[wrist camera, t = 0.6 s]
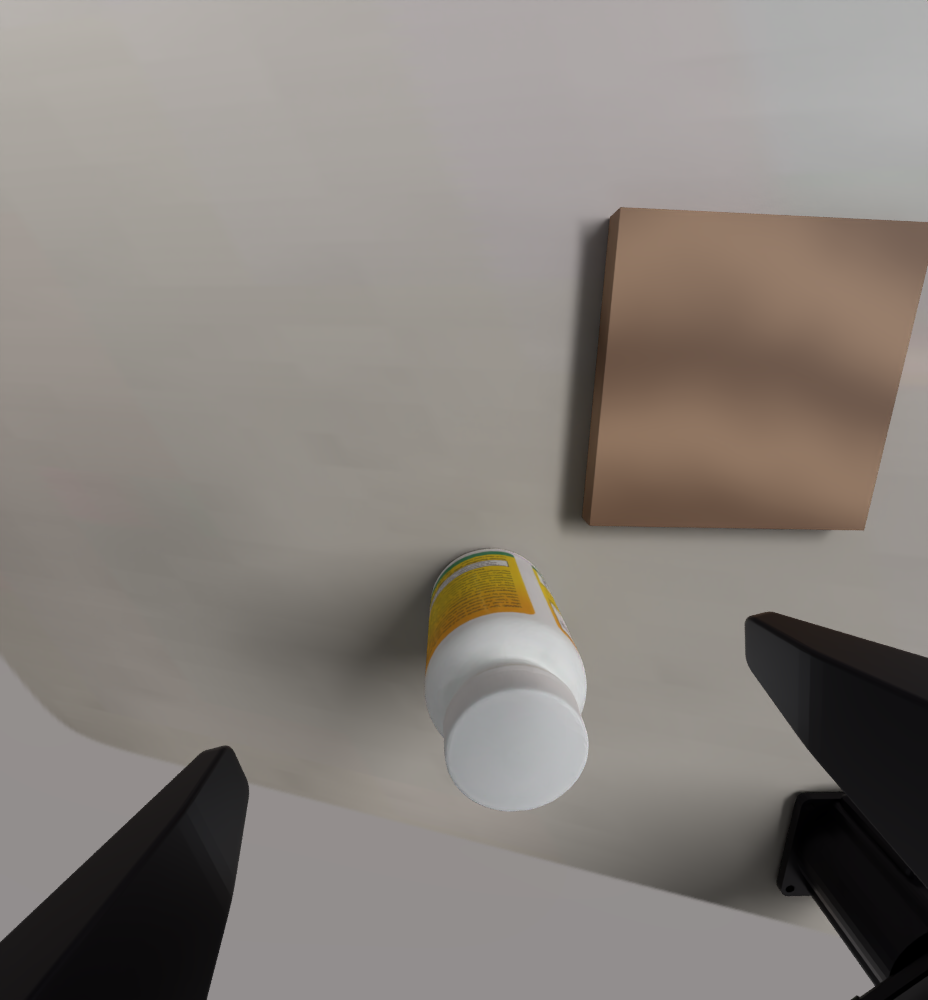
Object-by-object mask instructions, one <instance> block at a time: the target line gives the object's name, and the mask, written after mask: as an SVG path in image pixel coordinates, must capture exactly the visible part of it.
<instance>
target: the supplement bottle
mask: <svg viewBox="0 0 928 1000" xmlns="http://www.w3.org/2000/svg"><path fill="white" fill-rule="evenodd" d="M586 690H587V686H586V674H585V669H584V666H583V662H582V660H581V657H580V655H579V652H578V650H577V648H576V646H575V643H574V641H573V639H572V637H571V635H570V633H569V631H568V629H567V627H566V624H565V622H564V620H563V618H562V616H561V614H560V612H559V610H558V608H557V606H556V603H555V601H554V599H553V597H552V595H551V593H550V591H549V589H548V587H547V585H546V583H545V581H544V579H543V577H542V576H541V574H540V572H539V571H538V570H537V569H536V567H535V566H534V565H533V564H532V563H530V562H529V561H528V560H527V559H525V558H524V557H522V556H520V555H518V554H516V553H514V552H511V551H507V550H504V549H483V550H477V551H473V552H469V553H467V554H464V555H462V556H460V557H459V558H457V559H455V560H454V561H453V562H451V563H450V564H449V565H448V566H447V567H446V568H445V569H444V570H443V571H442V573H441V574H440V575H439V577H438V579H437V581H436V583H435V585H434V587H433V590H432V595H431V602H430V614H429V630H428V644H427V659H426V673H425V699H426V704H427V709H428V712H429V715H430V717H431V720H432V722H433V723H434V725H435V727H436V729H437V730H438V732H439V733H440V734H441V735H442V737H443V738H444V752H445V761H446V765H447V769H448V772H449V774H450V776H451V778H452V780H453V782H454V784H455V785H456V786H457V788H458V789H459V790H460V791H461V792H462V793H463V794H464V795H466V796H467V797H468V798H469V799H471V800H472V801H474V802H476V803H478V804H480V805H482V806H484V807H488V808H490V809H495V810H500V811H523V810H530V809H534V808H538V807H541V806H543V805H545V804H548V803H550V802H552V801H554V800H555V799H557V798H558V797H560V796H561V795H562V794H564V793H565V792H566V791H567V790H568V789H569V788H570V787H571V786H572V785H573V784H574V783H575V782H576V780H577V779H578V778H579V776H580V774H581V773H582V771H583V768H584V766H585V764H586V760H587V756H588V735H587V731H586V728H585V724H584V722H583V719H582V716H581V713H582V710H583V707H584V703H585V699H586Z"/></svg>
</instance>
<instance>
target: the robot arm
mask: <svg viewBox="0 0 928 1000" xmlns="http://www.w3.org/2000/svg"><path fill="white" fill-rule="evenodd" d="M745 655H746V660H747V663H748V666H749V668H750V670H751V671H752V673H753V674H754V675H755V677H756V678H757V680H758V681H759V682H760V684H761V685H762V687H763V688H764V690H765V691H766V692H767V694H768V695H769V697H770V698H771V699H772V701H773V702H774V704H775V705H776V706H777V708H778V709H779V711H780V712H781V713H782V715H783V716H784V718H785V719H786V720H787V722H788V723H789V725H790V726H791V727H792V729H793V730H794V732H795V733H796V734H797V736H798V737H799V738H800V740H801V741H802V742H803V744H804V745H805V746H806V748H807V749H808V750H809V752H810V753H811V754H812V755H813V756H814V758H815V759H816V760H817V761H818V762H819V764H820V765H821V766H822V767H823V768H824V769H825V771H826V772H827V773H828V774H829V775H830V776H831V777H832V779H833V780H834V781H835V782H836V783H837V784H838V786H839V787H840V788H841V789H842V790H843V791H844V792H822V793H803V794H801V795H799V796H798V797H797V799H796V802H795V806H794V811H793V815H792V819H791V823H790V827H789V832H788V836H787V840H786V844H785V848H784V853H783V857H782V861H781V865H780V869H779V874H778V878H777V886H778V888H779V889H780V891H781V892H782V894H783V895H785V896H812V897H813V899H814V900H815V902H816V903H817V904H818V906H819V907H820V909H821V910H822V911H823V913H824V914H825V916H826V917H827V919H828V920H829V921H830V923H831V924H832V926H833V927H834V928H835V930H836V931H837V933H838V934H839V936H840V937H841V938H842V940H843V941H844V943H845V944H846V945H847V947H848V948H849V950H850V951H851V953H852V954H853V955H854V957H855V958H856V959H857V961H858V962H859V964H860V965H861V967H862V968H863V970H864V971H865V972H866V974H867V975H868V977H869V978H870V979H871V981H872V982H873V984H874V985H875V987H874V988H872V989H871V990H869V991H868V992H867V993H865V994H864V995H862V996H861V997H859V996H855V997H854V998H853V999H851V1000H928V658H927V657H923V656H920V655H917V654H913V653H910V652H906V651H903V650H900V649H896V648H893V647H890V646H886V645H883V644H879V643H876V642H873V641H869V640H866V639H863V638H859V637H856V636H852V635H849V634H846V633H842V632H839V631H835V630H832V629H829V628H825V627H822V626H819V625H815V624H812V623H808V622H805V621H802V620H798V619H795V618H792V617H788V616H785V615H781V614H778V613H775V612H764V613H760V614H756V615H752V616H749V617H748V618H747V619H746V621H745ZM248 799H249V786H248V781H247V779H246V776H245V774H244V772H243V770H242V768H241V766H240V763H239V761H238V759H237V757H236V755H235V753H234V751H233V749H232V748H231V747H229V746H221V747H217V748H213V749H209V750H205V751H203V752H202V753H200V754H199V755H198V756H197V757H196V758H195V759H194V760H193V761H192V762H191V763H190V764H189V765H188V766H187V767H185V768H184V769H183V770H182V771H181V772H180V773H179V774H178V775H177V776H176V777H175V778H174V779H173V780H172V781H171V782H170V783H169V784H168V785H166V786H165V787H164V788H163V789H162V790H161V791H160V792H159V793H158V794H157V795H156V796H155V797H154V798H153V799H152V800H150V801H149V802H148V803H147V804H146V805H145V806H144V807H143V808H142V809H141V810H140V811H139V812H138V813H137V814H136V815H135V816H134V817H133V818H131V819H130V820H129V821H128V822H127V823H126V824H125V825H124V826H123V827H122V828H121V829H120V830H119V831H118V832H117V833H115V835H113V836H112V837H111V838H110V839H109V840H108V841H107V842H106V843H105V844H104V845H103V846H102V847H101V848H100V849H99V850H97V851H96V853H94V854H93V855H92V856H91V857H90V858H89V859H88V860H87V861H86V862H85V863H84V864H83V865H82V866H81V867H79V868H78V869H77V870H76V871H75V872H74V873H73V874H72V875H71V876H70V877H69V878H68V879H67V880H66V881H65V882H64V883H63V884H61V885H60V886H59V887H58V888H57V889H56V890H55V891H54V892H53V893H52V894H51V895H50V896H49V897H48V898H47V899H46V900H44V902H42V903H41V904H40V905H39V906H38V907H37V908H36V909H35V910H34V911H33V912H32V913H31V914H30V915H29V916H27V918H25V919H24V920H23V921H22V922H21V923H20V924H19V925H18V926H17V927H16V928H15V929H14V930H13V931H12V932H11V933H10V934H9V935H7V936H6V937H5V938H4V939H3V940H2V941H1V942H0V1000H207V996H208V992H209V988H210V984H211V980H212V976H213V973H214V969H215V965H216V961H217V957H218V953H219V949H220V945H221V941H222V938H223V934H224V930H225V925H226V922H227V918H228V914H229V909H230V905H231V901H232V896H233V891H234V886H235V880H236V874H237V868H238V861H239V855H240V849H241V843H242V836H243V829H244V824H245V817H246V811H247V804H248Z"/></svg>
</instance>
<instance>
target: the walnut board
mask: <svg viewBox="0 0 928 1000" xmlns="http://www.w3.org/2000/svg"><path fill="white" fill-rule="evenodd" d="M927 266H928V222H912V221H892V220H871V219H851V218H830V217H810V216H789V215H769V214H748V213H728V212H707V211H687V210H666V209H646V208H625V207H620V208H619V209H618V210H617V211H616V212H615V213H614V214H613V215H612V216H611V217H610V221H609V232H608V243H607V253H606V264H605V275H604V286H603V296H602V307H601V318H600V329H599V339H598V350H597V361H596V372H595V383H594V393H593V404H592V415H591V426H590V436H589V447H588V458H587V469H586V479H585V490H584V501H583V512H582V518H583V519H584V520H585V521H586V522H587V523H588V524H589V525H590V526H640V527H698V528H757V529H816V530H864V528H865V524H866V520H867V516H868V512H869V507H870V503H871V499H872V495H873V491H874V487H875V482H876V478H877V474H878V470H879V466H880V462H881V457H882V453H883V449H884V445H885V441H886V437H887V432H888V428H889V424H890V420H891V416H892V412H893V407H894V403H895V399H896V395H897V391H898V387H899V382H900V378H901V374H902V370H903V366H904V362H905V357H906V353H907V349H908V345H909V341H910V337H911V332H912V328H913V324H914V320H915V316H916V312H917V307H918V303H919V299H920V295H921V291H922V287H923V282H924V278H925V274H926V270H927Z"/></svg>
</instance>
